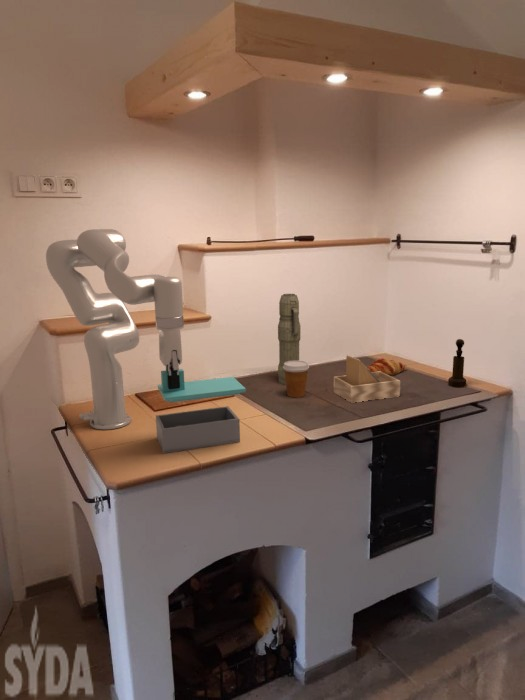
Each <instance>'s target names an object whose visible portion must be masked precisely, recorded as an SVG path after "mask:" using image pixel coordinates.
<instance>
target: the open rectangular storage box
mask: <svg viewBox="0 0 525 700" xmlns="http://www.w3.org/2000/svg"><path fill="white" fill-rule="evenodd" d="M371 373H372V374H373V375H374V376H375V377H376V378H377V379H378V380H379V381H380V383H372V384H364V385H356V386H352V385H350V384H348V383H347V382H346V374H345V375H337V376H333V393H334V394H335V395H338V396H339V397H340V396H341V398H342V399H343V400H345V399H346V401H347V402H348V403H350V402H351V403H350V404H356V403H355V402H357V403H363V402H362V401H364V402H369V401H368V400H372V401H376V400H375V399H379V400H384V398H386V399H392V398H400V397H399V396H401V380H399V379H398V378H396V377H393V376H392V375H387V374H385V373H383V372H381V371H378V372H371Z"/></svg>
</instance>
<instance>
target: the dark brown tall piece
mask: <svg viewBox="0 0 525 700" xmlns="http://www.w3.org/2000/svg"><path fill="white" fill-rule="evenodd" d="M455 345H456V348H457V350H456V351H455V352H456V355H454V356H452V357H453V358H452V359H453V361H452V375H451V376H450V377H449V378H448V380H447V385H448V386H450V387H452V388H464V387H467V379H466V378H465V377H464V370H465V369H464V368H465V367H464V366H465V357H464V356H462V355H463V353H464V351H463V349H462V348H463V347H464V346H465V340H463V339H461V338H458V339H456V340H455Z"/></svg>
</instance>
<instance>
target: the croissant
mask: <svg viewBox="0 0 525 700" xmlns="http://www.w3.org/2000/svg"><path fill="white" fill-rule="evenodd" d="M366 367H367V368H368V369H369V371H370V372H378V371H381V372H383V373H385V374H387V375H389V376H394V375H397V374H400V373H401V372H403V371H405V370H406V369H407V364H404V363H402V362H400V361H399V362H398V361H397V360H395V359H388V358H384V357H383V358H382V357H381V358H377V359H376V360H374V362H373V363H371V364H370V365H369V366H366Z"/></svg>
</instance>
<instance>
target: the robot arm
mask: <svg viewBox="0 0 525 700" xmlns="http://www.w3.org/2000/svg"><path fill="white" fill-rule="evenodd" d="M126 248H127V242H126V239H125V237H124V235H123V234H122V233H121V231H118V230H116V229H112V228H105V229H104V228H99V229H98V228H97V229H95V228H94V229H86V230H84V231H82V232H81V233H80V234H79V235H78V237H77V239H63V240H57V241H55V242H52V243H51V244H49V245H48V247H47V249H46V253H45V262H46V266H47V269H48V272H49V273H50V276H51V277H52V279H53V280H54V281H55V283H56V285H58V287H59V288H60V290H61V291H62V293H63V294H64V297H65V299H66V301H67V303H68V305H69V306H70V309H71V311H72V312H73V314H74V316H75V318H76V320H77V321H78V323H79V324H80V325H82V326H85V327H91V328H90V329H88V330H87V331H86V332H85V333H84V337H83V344H84V348H85V352H86V354H87V357H88V358H87V359H88V364H89V372H90V380H91V391H92V401H93V408H92V411H89V412H87V413H86V412H83V413H79V414H78V415H79V416H78V417H79V420H82V421H83V422H87V421H89V425H90V427H91V428H93V429H96V430H113V429H115V430H116V429H119V428H122V427H124V426H128V425H129V424H130V423H131V422H132V416H131V415H129V414H127V413H126V404H125V403H126V402H125V390H124V376H123V368H122V365H121V363H120V362H119V360H118V359H117V358H116V356H115V355H117V354H120V353H124V352H128V351H131V350H133V349H135V348H136V347H137V346H138V345H139V343H140V333H139V329H138V327H137V325H136V323H135V321H134V320H133V317H132V315H131V313H130V312H129V310H128V308H127V306H126V304H127V305H133V306H134V305H135V306H136V305H141V304H145V303H147V304H148V303H154V316H155V317H154V318H155V329H156V330H158V344H159V345H158V350H159V354H158V356H159V357H158V358H159V360H160V361H161V364H163V366H164V367H165V371H166V370H168V374H169V375H168V388H169V389H178V388H180V378H179V369H180V367H179V366H180V365H182V363H183V352H182V351H183V349H182V335H181V329H184V328H185V324H184V323H185V322H184V306H183V305H184V303H183V285H182V284H183V283H182V280H181V278H180V277H176V276H164V275H162V274H148V275H147V274H145V275H135V276H129V275H128V274H126V273H125V271H126V270H127V269H128V267H129V263H130V256H129V254H128V252H127V251H126ZM94 266H97V267H98V268H99V269H100V270H101V271H103V275H104V282H105V284H106V287H107V289H108V290H109V292H104V293H103V292H102V293H97V292H95V290H94V289H93V286H92V285H91V283H90V281H89V280H88V278H86V277H85V275H83V274H82V273H80V272H79V271H78V270H77V269H76V268H83V267H84V268H85V267H94ZM92 326H94V327H92Z"/></svg>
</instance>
